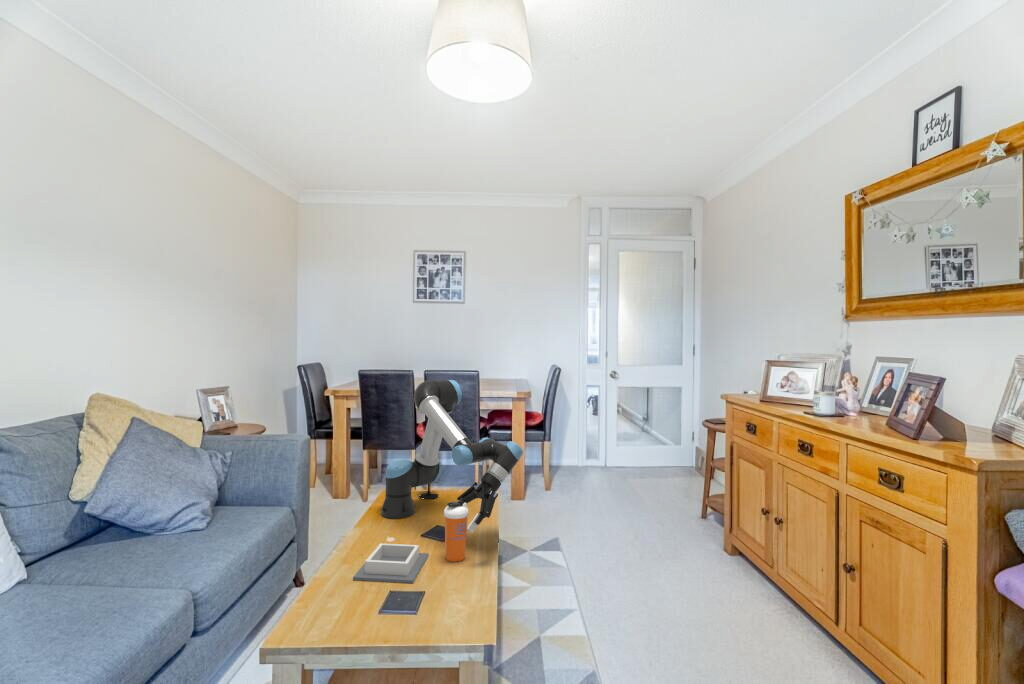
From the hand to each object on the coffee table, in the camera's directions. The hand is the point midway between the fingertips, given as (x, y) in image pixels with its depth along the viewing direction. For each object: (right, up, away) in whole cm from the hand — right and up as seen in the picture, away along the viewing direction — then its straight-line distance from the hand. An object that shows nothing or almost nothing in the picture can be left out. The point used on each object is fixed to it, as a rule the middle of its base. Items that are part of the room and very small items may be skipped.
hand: (459, 525), depth 169 cm
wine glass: (-24, -13, +69) cm, 74 cm away
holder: (-22, -11, -9) cm, 26 cm away
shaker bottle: (-2, -12, 0) cm, 12 cm away
